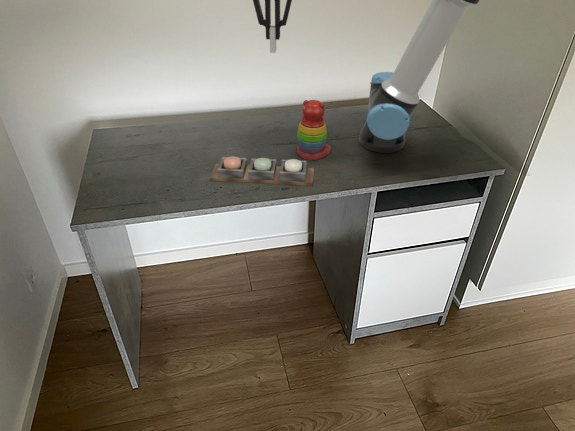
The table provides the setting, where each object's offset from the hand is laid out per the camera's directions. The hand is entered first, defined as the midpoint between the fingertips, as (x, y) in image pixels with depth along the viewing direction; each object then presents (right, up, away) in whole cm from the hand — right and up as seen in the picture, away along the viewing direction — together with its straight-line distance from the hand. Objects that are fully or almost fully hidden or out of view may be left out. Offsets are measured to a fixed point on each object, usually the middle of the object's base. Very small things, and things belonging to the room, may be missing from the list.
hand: (273, 51), depth 131 cm
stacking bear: (+12, -26, +20) cm, 35 cm away
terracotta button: (-12, -32, +8) cm, 35 cm away
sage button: (-3, -33, +8) cm, 34 cm away
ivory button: (+6, -33, +7) cm, 34 cm away
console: (-3, -34, +9) cm, 35 cm away
